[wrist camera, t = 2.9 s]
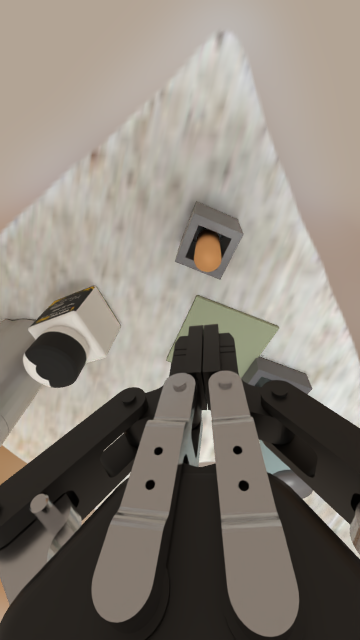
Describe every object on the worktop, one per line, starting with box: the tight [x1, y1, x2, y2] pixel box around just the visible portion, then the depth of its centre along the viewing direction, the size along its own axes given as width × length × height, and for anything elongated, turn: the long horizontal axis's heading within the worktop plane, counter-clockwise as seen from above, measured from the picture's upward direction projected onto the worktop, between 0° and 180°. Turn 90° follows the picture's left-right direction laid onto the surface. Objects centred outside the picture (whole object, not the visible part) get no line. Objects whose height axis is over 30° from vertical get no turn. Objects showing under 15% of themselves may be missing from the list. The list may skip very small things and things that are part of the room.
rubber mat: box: [166, 295, 279, 378], centre depth 40 cm, size 12×12×1 cm
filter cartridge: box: [254, 377, 313, 499], centre depth 37 cm, size 5×5×16 cm
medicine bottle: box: [23, 286, 121, 388], centre depth 35 cm, size 7×7×12 cm
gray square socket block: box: [175, 201, 243, 279], centre depth 29 cm, size 5×5×6 cm
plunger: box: [194, 229, 221, 272], centre depth 27 cm, size 2×2×6 cm
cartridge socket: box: [241, 357, 312, 394], centre depth 42 cm, size 8×8×3 cm
